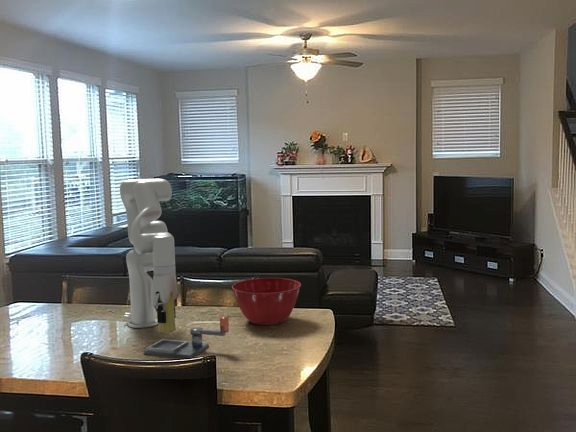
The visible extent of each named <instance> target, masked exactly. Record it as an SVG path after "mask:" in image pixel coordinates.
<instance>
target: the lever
mask: <svg viewBox="0 0 576 432" xmlns="http://www.w3.org/2000/svg"><path fill="white" fill-rule="evenodd" d="M229 325H230V324H229V316H220V317H219V330H217V329H207V328H206V329H205V328H202V327H193V328H190V331H189V333H190V335H191V336H192V335H201V334H202V335H207V336H218V337H224V336H226V334H227V333H229V332H230V327H229Z"/></svg>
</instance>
